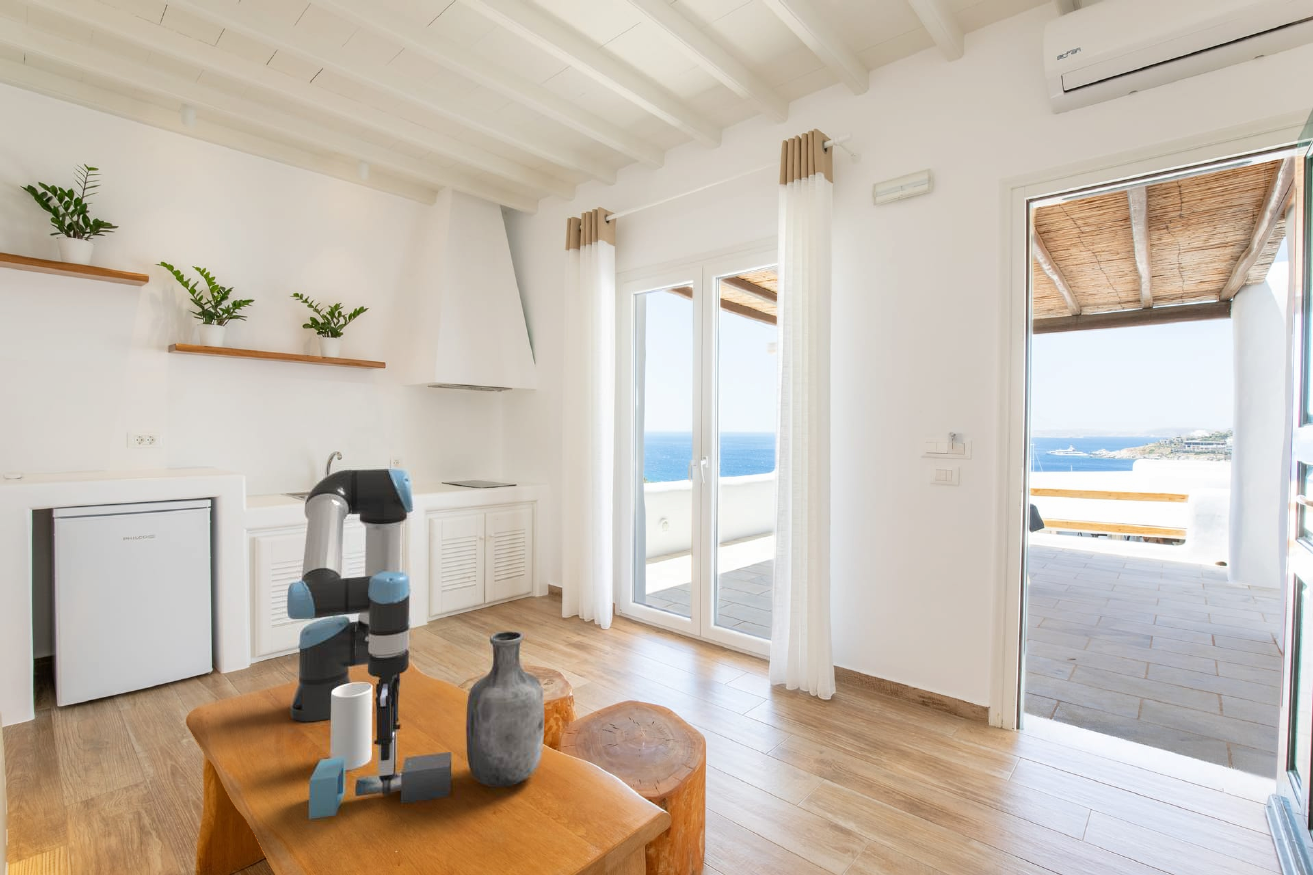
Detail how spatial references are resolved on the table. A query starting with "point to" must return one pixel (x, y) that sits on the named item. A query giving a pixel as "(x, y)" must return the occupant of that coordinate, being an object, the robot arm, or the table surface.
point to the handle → (380, 780)
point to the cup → (352, 724)
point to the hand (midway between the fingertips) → (387, 769)
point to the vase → (505, 718)
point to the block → (426, 777)
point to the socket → (327, 787)
